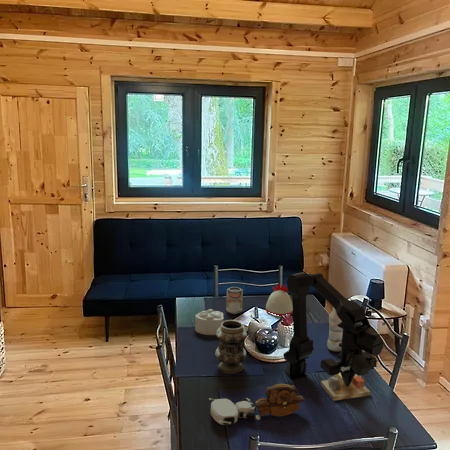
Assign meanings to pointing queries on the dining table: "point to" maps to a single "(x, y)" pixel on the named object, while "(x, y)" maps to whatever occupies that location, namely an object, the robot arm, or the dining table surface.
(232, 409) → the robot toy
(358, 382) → the lever
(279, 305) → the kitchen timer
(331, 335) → the plastic bottle
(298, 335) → the robot arm
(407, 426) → the dining table surface
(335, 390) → the valve board
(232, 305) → the beige cylinder
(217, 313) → the lumpy-topped squat cylinder
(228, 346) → the apothecary jar
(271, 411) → the wooden carving
